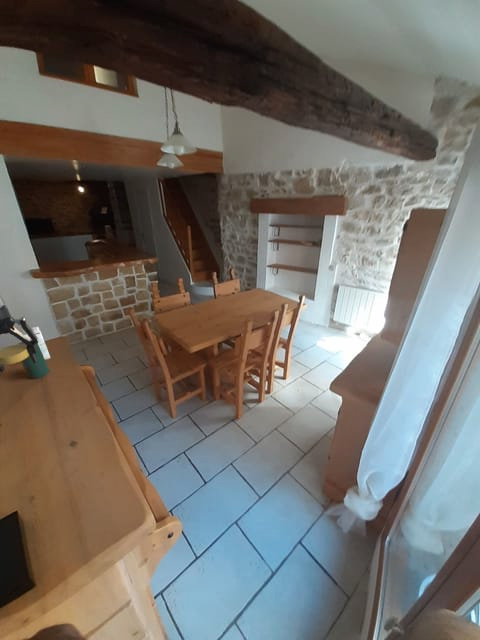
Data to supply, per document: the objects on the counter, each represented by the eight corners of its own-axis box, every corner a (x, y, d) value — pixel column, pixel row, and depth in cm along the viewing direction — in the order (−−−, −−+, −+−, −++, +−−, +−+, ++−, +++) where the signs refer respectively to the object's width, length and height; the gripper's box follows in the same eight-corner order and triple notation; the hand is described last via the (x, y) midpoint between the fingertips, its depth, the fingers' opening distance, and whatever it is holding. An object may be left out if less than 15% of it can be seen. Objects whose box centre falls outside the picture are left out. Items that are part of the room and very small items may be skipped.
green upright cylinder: (26, 381, 101) (11, 351, 94) (30, 370, 107) (17, 341, 100) (47, 376, 103) (34, 346, 97) (50, 366, 109) (39, 338, 103)
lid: (28, 347, 93) (25, 341, 92) (32, 357, 88) (29, 350, 87) (-2, 357, 88) (-6, 350, 87) (0, 368, 83) (-4, 361, 81)
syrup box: (33, 357, 115) (21, 330, 108) (49, 352, 118) (38, 325, 112) (35, 363, 111) (22, 335, 104) (51, 358, 115) (40, 330, 108)
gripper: (32, 297, 87) (54, 351, 98) (-54, 311, 77) (-19, 370, 87) (31, 304, 82) (54, 360, 92) (-62, 321, 71) (-24, 382, 82)
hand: (19, 365), depth 90 cm, fingers closed on lid, 8 cm apart
